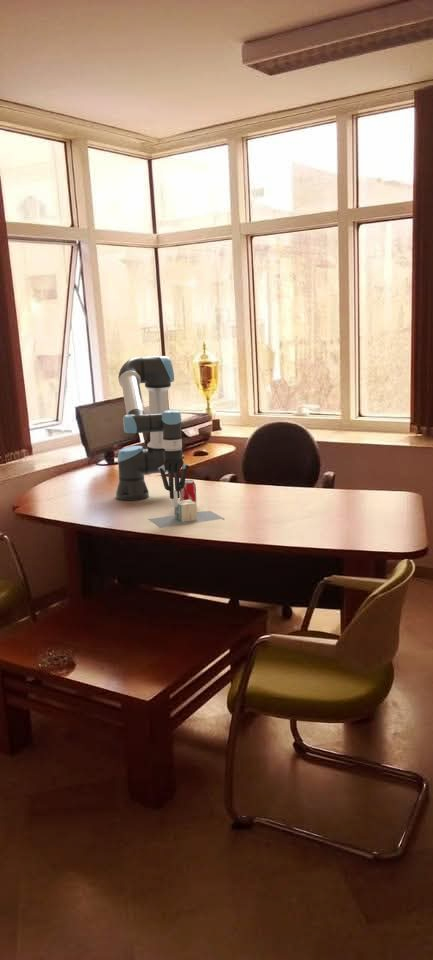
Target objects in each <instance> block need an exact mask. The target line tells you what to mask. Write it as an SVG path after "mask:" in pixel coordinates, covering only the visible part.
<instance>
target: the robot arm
mask: <svg viewBox="0 0 433 960" xmlns="http://www.w3.org/2000/svg"><path fill="white" fill-rule="evenodd" d="M118 382H119V386H120V387H121V388H122V395H123V400H124V405H125V407H124V408H125V412H126V414H125V415H123V417H122V422H123V423H122V424H123V432H124V433H125V434H143V433H149V434H150V435H149V438H150V439H149V440H150V441H149V442H148V443H147V445H146V446H147V448H143V446H142V445H131V446H126V447H124V448H121V449H120V450H119V451H118V452H117V462H118V463H117V464H118V465H117V466H118V467H117V468H118V483H117V489H116V491H115V498H116V499H117V500H120V501H139V500H144V499H147V498H148V497H149V495H150V494H149V493H150V492H149V489H148V486H147V483H146V481H145V475H148V474H149V475H150V474H160V475H161V476H160V477H161V480H162V483H163V487H164V489H165V490H166V491H168V492H169V499H171V506H172V507H178V501H179V499H180V489H183V488H184V484H185V480H187V479H186V477H187V472H188V470H189V468H190V465H189V464H186V463H184V460H183V449H182V448H183V440H182V439H183V438H182V417H181V416H182V415H181V411H180V410H176V409H175V410H174V409H169V398H168V397H169V391H168V390H169V389H170V388H171V385H172V383H173V382H175V374H174V367H173V363H172V359H171V358H170V357H169V356H166V355H154V356H135V357H132V358H130V359H128V360H127V361H126V362H124V363H123V364H122V366H121V368H120V369H119V372H118ZM140 384H144V387H145V388H146V389H147V390H148V406H149V407H148V408H149V410H148V411H149V412H148V413H146V412H145V406H144V402H143V401H144V400H143V396H142V391H141V386H140ZM180 471H181V474H180ZM166 473H167V475H166ZM167 476H168V478H167Z"/></svg>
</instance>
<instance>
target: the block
mask: <svg viewBox="0 0 433 960" xmlns="http://www.w3.org/2000/svg"><path fill="white" fill-rule="evenodd" d="M197 510H198V509H197V502H196V503H195V502H193V501H192V500H183V501H180V500H178V507H174V515H175V518H176V519H177V520H179V521H180V522H184V521H191V520H197V512H198V511H197Z"/></svg>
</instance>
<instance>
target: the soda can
mask: <svg viewBox="0 0 433 960" xmlns="http://www.w3.org/2000/svg"><path fill="white" fill-rule="evenodd" d="M179 492H180V497H179V501H183V500H192V501H193V502H195V503H196V504H197V485H196V483H195V480H193V479H185V484H184V488H183V489H180V491H179Z"/></svg>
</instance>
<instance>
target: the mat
mask: <svg viewBox="0 0 433 960" xmlns="http://www.w3.org/2000/svg"><path fill="white" fill-rule="evenodd" d="M147 520H148V521H149V522H151V523H152V524H154V525H155V526H156V527H158V528H159V529H161V528H162V529H163V528H168V527H169V528H170V527H175V526H176V527H177V526H183V525H190V524H196V523H197V524H198V523H203V522H204V523H205V522H211V521H218V520H225V518H224V517H222V516H221V515H219V514H216V513H215V512H213V511H211V510H206V511H205V510H204V511H197V520H191V521H184V522H180V521H179V520H177V519H176V518H175V514H174V515H169V516H159V517H153V518H147Z"/></svg>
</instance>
